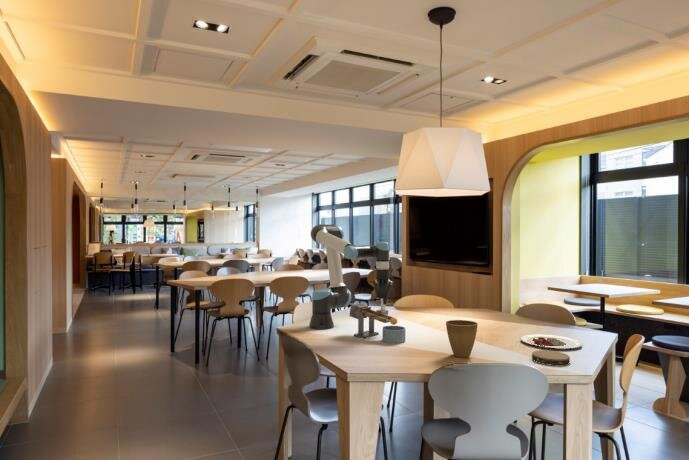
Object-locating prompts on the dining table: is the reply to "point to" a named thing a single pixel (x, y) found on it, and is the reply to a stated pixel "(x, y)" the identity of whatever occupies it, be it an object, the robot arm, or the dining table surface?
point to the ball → (393, 320)
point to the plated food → (550, 341)
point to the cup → (394, 334)
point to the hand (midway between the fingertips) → (383, 309)
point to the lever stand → (361, 331)
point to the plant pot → (461, 336)
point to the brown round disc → (550, 357)
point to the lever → (369, 312)
